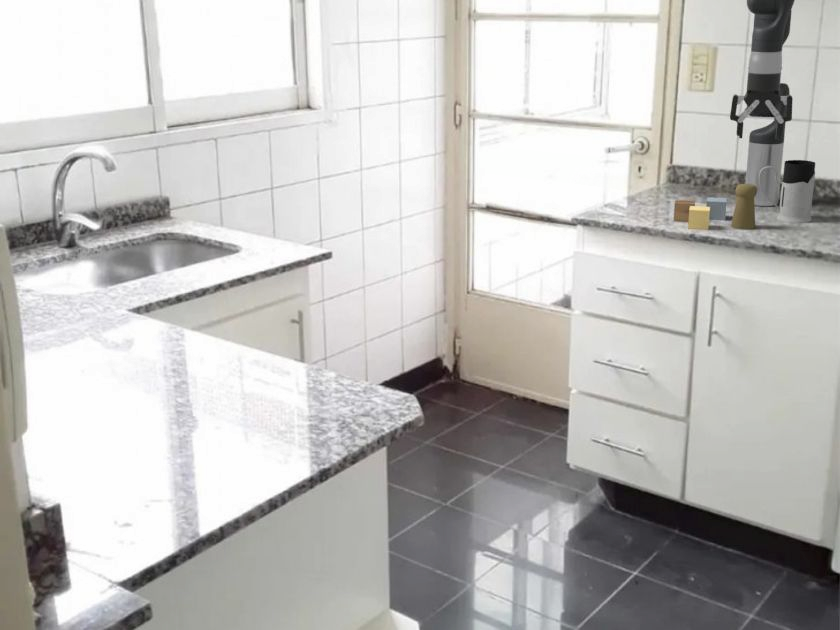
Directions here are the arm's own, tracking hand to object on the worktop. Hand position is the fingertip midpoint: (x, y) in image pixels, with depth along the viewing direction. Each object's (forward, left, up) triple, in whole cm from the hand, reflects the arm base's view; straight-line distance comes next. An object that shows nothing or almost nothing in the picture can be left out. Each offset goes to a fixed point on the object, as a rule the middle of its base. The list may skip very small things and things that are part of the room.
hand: (758, 138), depth 245 cm
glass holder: (-15, +8, -23) cm, 29 cm away
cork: (-3, -2, -23) cm, 24 cm away
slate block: (-12, -9, -23) cm, 28 cm away
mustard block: (0, -13, -23) cm, 26 cm away
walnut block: (-8, -17, -23) cm, 30 cm away
